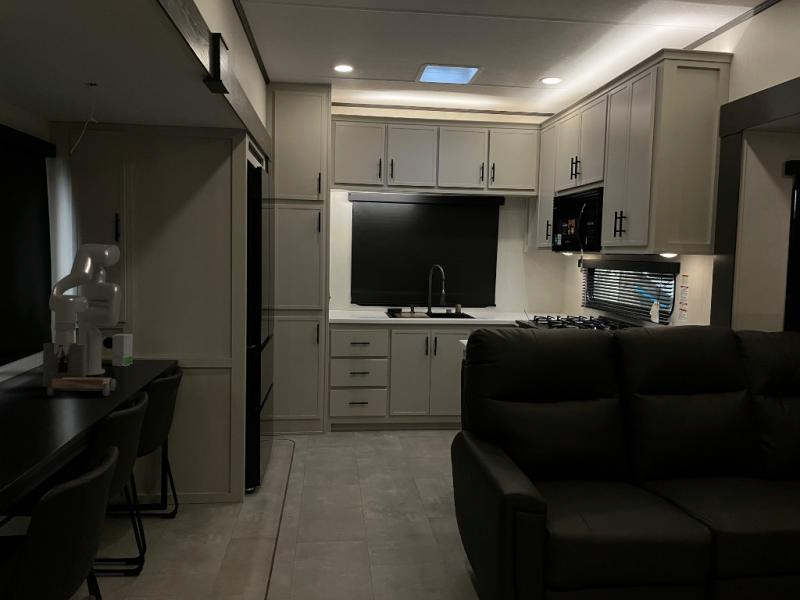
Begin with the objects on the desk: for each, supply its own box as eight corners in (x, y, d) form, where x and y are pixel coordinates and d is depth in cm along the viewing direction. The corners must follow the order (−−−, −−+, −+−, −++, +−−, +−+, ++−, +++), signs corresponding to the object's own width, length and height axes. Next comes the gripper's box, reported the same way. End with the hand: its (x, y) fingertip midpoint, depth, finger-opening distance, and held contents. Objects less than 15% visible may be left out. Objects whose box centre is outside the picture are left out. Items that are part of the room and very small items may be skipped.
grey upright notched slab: (41, 386, 242) (42, 338, 240) (45, 384, 246) (45, 336, 244) (84, 387, 245) (85, 339, 244) (87, 384, 249) (88, 337, 248)
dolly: (60, 389, 243) (60, 372, 242) (115, 389, 247) (116, 372, 246) (47, 397, 229) (47, 379, 228) (106, 397, 233) (106, 379, 233)
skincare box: (123, 367, 294) (123, 335, 293) (110, 366, 295) (111, 334, 294) (133, 364, 302) (133, 333, 301) (120, 363, 303) (121, 332, 302)
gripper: (62, 324, 251) (61, 367, 252) (47, 329, 235) (47, 375, 236) (81, 324, 252) (81, 367, 254) (68, 329, 236) (67, 375, 237)
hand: (64, 370), depth 245 cm, fingers closed on grey upright notched slab, 3 cm apart
